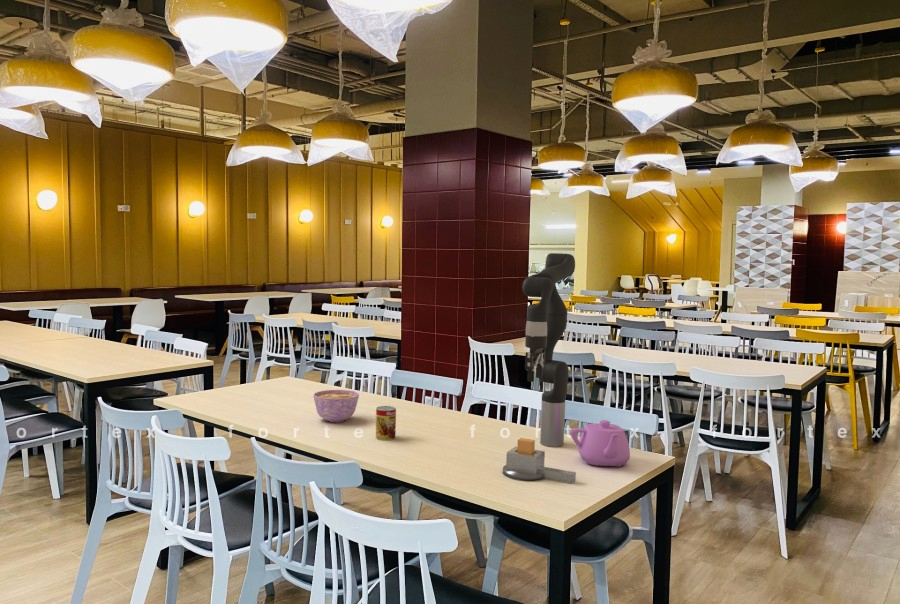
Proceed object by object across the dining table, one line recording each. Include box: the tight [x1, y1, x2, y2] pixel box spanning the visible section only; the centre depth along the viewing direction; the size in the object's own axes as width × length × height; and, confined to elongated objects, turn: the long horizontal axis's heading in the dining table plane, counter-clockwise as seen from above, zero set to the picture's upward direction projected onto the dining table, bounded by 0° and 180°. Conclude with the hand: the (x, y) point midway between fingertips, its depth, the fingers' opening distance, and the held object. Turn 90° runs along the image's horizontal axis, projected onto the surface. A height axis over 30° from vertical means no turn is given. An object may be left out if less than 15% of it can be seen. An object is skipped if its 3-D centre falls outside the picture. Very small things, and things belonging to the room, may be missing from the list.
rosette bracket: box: [502, 446, 577, 485], centre depth 214 cm, size 15×24×8 cm, turn 62°
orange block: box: [516, 437, 536, 455], centre depth 216 cm, size 3×5×10 cm, turn 63°
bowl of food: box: [312, 389, 360, 423], centre depth 283 cm, size 20×20×12 cm
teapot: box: [569, 419, 631, 467], centre depth 229 cm, size 23×21×15 cm
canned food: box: [375, 405, 397, 441], centre depth 257 cm, size 8×8×12 cm
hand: (534, 379), depth 227 cm, fingers open, 8 cm apart
